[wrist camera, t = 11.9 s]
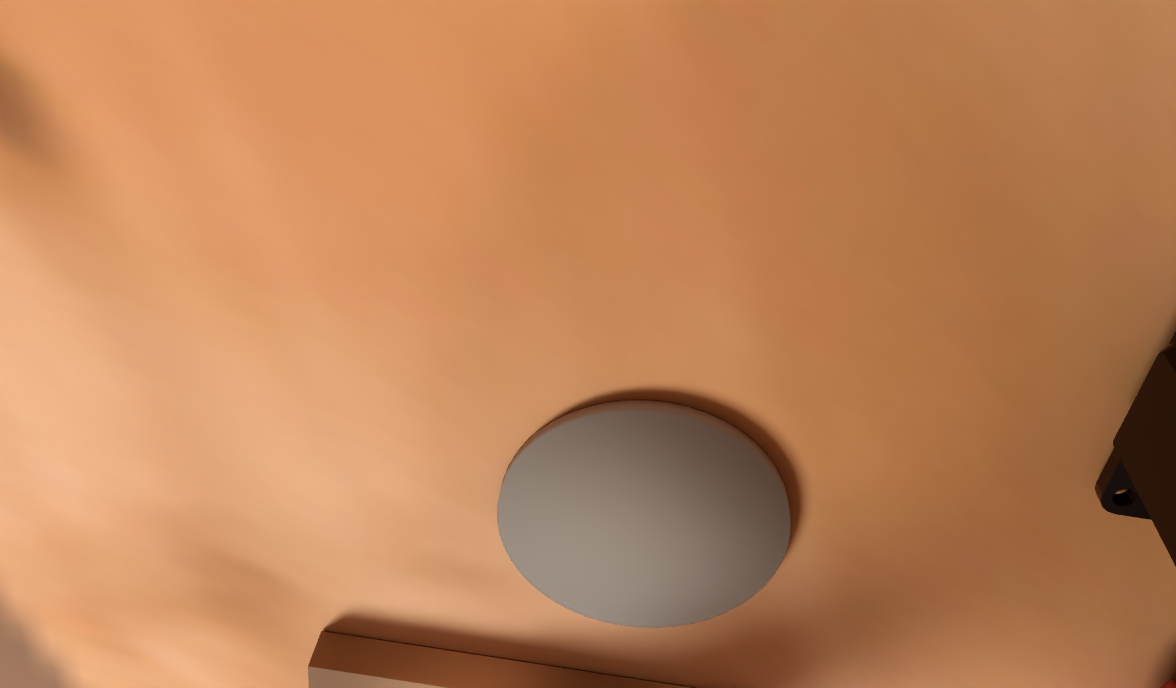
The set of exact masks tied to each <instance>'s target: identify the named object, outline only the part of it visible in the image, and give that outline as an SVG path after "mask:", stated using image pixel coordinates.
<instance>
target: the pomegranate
mask: <svg viewBox="0 0 1176 688" xmlns="http://www.w3.org/2000/svg"><path fill="white" fill-rule="evenodd" d="M1161 688H1176V679H1174V680H1171V681H1170V682H1168V683H1166V684H1165V685H1163V686H1162V687H1161Z"/></svg>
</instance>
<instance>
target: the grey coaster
mask: <svg viewBox="0 0 1176 688" xmlns="http://www.w3.org/2000/svg"><path fill="white" fill-rule="evenodd" d="M497 520H498V526H499V533H500V536H501V539H502V542H503V545H504V548H505V549H506V551H507V553H508V555H509V557H510V559H511V561H512V562H513V563H514V565H515V566H516V568H517V569H518V570H519V572H520V573H521V574H522V575H523V576H524V577H525V578H526V579H527V580H528V581H529V583H530V584H532V585H533V586H534V587H535V588H536V589H538V590H539V591H540V592H541V593H542V594H544V595H545V596H547V597H548V598H550V599H551V600H553V601H554V602H556V603H558V604H560V605H562V606H564V607H565V608H567V609H569V610H571V611H574V612H576V613H579V614H581V615H584V616H586V617H589V618H592V619H596V620H599V621H603V622H607V623H612V624H617V625H622V626H631V627H647V628H660V627H673V626H680V625H686V624H692V623H696V622H700V621H703V620H707V619H710V618H713V617H715V616H718V615H721V614H723V613H725V612H727V611H729V610H731V609H733V608H735V607H737V606H739V605H741V604H742V603H744V602H745V601H747V600H748V599H750V598H751V597H752V596H754V595H755V594H756V593H757V592H758V591H759V590H760V589H762V588H763V587H764V586H765V585H766V583H767V582H768V581H769V580H770V579H771V578H772V576H773V575H774V574H775V572H776V571H777V569H778V567H779V566H780V564H781V563H782V560H783V558H784V555H785V553H786V551H787V547H788V543H789V538H790V526H791V519H790V510H789V502H788V495H787V492H786V489H785V486H784V483H783V480H782V478H781V476H780V474H779V472H778V470H777V468H776V467H775V465H774V464H773V462H772V461H771V460H770V458H769V457H768V456H767V454H766V453H765V452H764V451H763V450H762V449H761V448H760V447H759V446H758V445H757V444H756V443H755V442H754V441H753V440H752V439H750V438H749V437H748V436H747V435H745V434H744V433H743V432H741V431H740V430H739V429H737V428H735V427H734V426H732V425H730V424H729V423H727V422H725V421H724V420H721V419H719V418H717V417H715V416H712V415H710V414H708V413H706V412H703V411H699V410H696V409H693V408H690V407H687V406H682V405H678V404H673V403H668V402H659V401H649V400H625V401H616V402H607V403H602V404H598V405H593V406H589V407H585V408H582V409H580V410H577V411H574V412H571V413H568V414H566V415H564V416H562V417H560V418H558V419H556V420H554V421H552V422H551V423H549V424H548V425H546V426H545V427H543V428H542V429H540V430H539V431H537V432H536V433H535V434H534V435H533V436H532V437H531V438H530V439H528V440H527V441H526V442H525V443H524V445H523V446H522V447H521V448H520V449H519V451H518V452H517V453H516V454H515V456H514V458H513V459H512V461H511V463H510V464H509V466H508V468H507V471H506V474H505V476H504V479H503V482H502V486H501V491H500V496H499V501H498V513H497Z"/></svg>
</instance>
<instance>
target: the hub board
mask: <svg viewBox="0 0 1176 688" xmlns="http://www.w3.org/2000/svg"><path fill="white" fill-rule="evenodd" d="M308 676H309V688H690V687H684V686H677V685H671V684H664V683H658V682H651V681H645V680H638V679H631V678H625V677H618V676H612V675H605V674H599V673H592V672H586V671H579V670H573V669H566V668H560V667H553V666H546V665H540V664H533V663H527V662H520V661H514V660H507V659H501V658H494V657H488V656H481V655H474V654H468V653H461V652H455V651H448V650H442V649H435V648H429V647H422V646H416V645H409V644H402V643H396V642H389V641H383V640H376V639H370V638H363V637H357V636H350V635H344V634H337V633H331V632H324V631H321V634H320V636H319V639H318V642H317V644H316V647H315V650H314V652H313V655H312V657H311V660H310V663H309V665H308Z"/></svg>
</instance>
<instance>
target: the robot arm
mask: <svg viewBox="0 0 1176 688" xmlns="http://www.w3.org/2000/svg"><path fill="white" fill-rule="evenodd" d="M1113 445H1114V447H1115V448H1114V450H1113V452H1112V454H1111V456H1110V457H1109V459H1108V461H1107V463H1106V465H1105V467H1104V469H1103V471H1102V473H1101V474H1100V476H1099V478H1098V480H1097V482H1096V486H1095V491H1096V494H1097V496H1098V499H1099V501H1100V503H1101V505H1102V507H1103V508H1104V509H1105V510H1106V511H1108V512H1110V513H1114V514H1118V515H1125V516H1131V517H1138V518H1144V519H1151V520H1152V521H1153V523H1154V525H1155V527H1156V529H1157V531H1158V533H1159V535H1160V537H1161V539H1162V541H1163V543H1164V544H1165V546H1166V548H1167V550H1168V552H1169V554H1170V556H1171V558H1172V560H1173V562H1174V564H1175V566H1176V332H1175V334H1174V336H1173V338H1172V340H1171V342H1170V344H1169V345H1168V346H1167V347H1166V348H1164V349H1163V350H1162V351H1161V352H1160V353H1159V354H1158V356H1157V358H1156V360H1155V362H1154V364H1153V366H1152V368H1151V369H1150V371H1149V373H1148V375H1147V377H1146V379H1145V381H1144V383H1143V385H1142V387H1141V389H1140V390H1139V392H1138V394H1137V396H1136V398H1135V400H1134V402H1133V404H1132V406H1131V408H1130V410H1129V411H1128V413H1127V415H1126V417H1125V419H1124V421H1123V423H1122V425H1121V427H1120V429H1119V431H1118V432H1117V434H1116V436H1115V438H1114V441H1113ZM1122 489H1128V490H1127V491H1126V492H1123V493H1121V494H1115V493H1116V492H1117V491H1120V490H1122Z"/></svg>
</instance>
